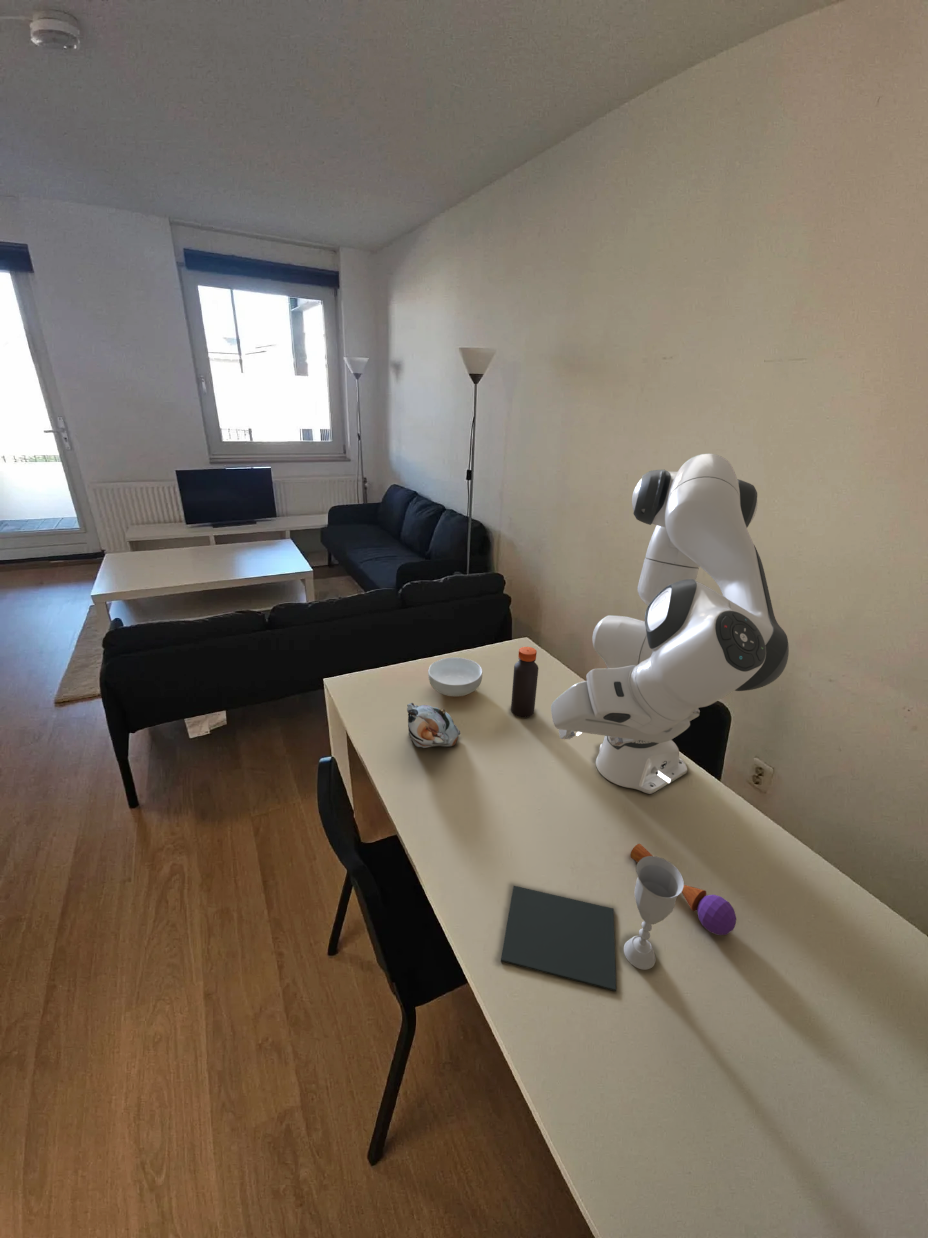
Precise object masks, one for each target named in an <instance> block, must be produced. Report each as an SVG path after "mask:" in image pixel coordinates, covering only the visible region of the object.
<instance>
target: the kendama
mask: <svg viewBox="0 0 928 1238" xmlns="http://www.w3.org/2000/svg"><path fill="white" fill-rule="evenodd" d="M629 856H630V858H631V859H632V860H633V861H635V862H636V863H638V862H639V861H640V860H641V859H642V858H644V857H647V856H654V855H653V854H652V853H651V852H650V851H649V850H648V849H647V848H645V847H644V845H643V844H641V843H637V844H635V845H634V846H633V848H632V849H631V851H630V855H629ZM681 895H682V896H683V898H684V899H685V901H686V903H687V905H688V906H689V908H690V911H692V912H697V915H698V916H697V917H698V920H699V922H700V924H701V925H702V927H704V928H705V930H707V931H708V932H709V933H712V934H714V935H717V936H725V935H728V934H730V933H731V932H732V931H733V930H734V929H735V927H736V923H737V915H736V911H735V908H734V907H733V905H732V904H731V903H730V902H729V901H728V900H726V899H725V897H722V896H720V895H716V894H707V891H706V889H702V888H697V887H695V886H691V885H687V884H684V887H683V890H682V892H681Z"/></svg>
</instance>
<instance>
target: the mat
mask: <svg viewBox="0 0 928 1238" xmlns="http://www.w3.org/2000/svg"><path fill="white" fill-rule="evenodd" d="M511 892H512V893H511V898H510V904H509V910H508V915H507V922H506V927H505V935H504V938H503V944H502V949H501V950H502V951H501V957H500V962H503V963H507V964H510V965H515V966H517V967H522V968H526V969H529V970H534V971H537V972H540V973H545V974H549V975H553V976H556V977H560V978H564V979H567V980H572V981H575V982H579V983H582V984H587V985H590V986H595V987H598V988H601V989H605V990H610V991H613V992H617V977H616V976H617V975H616V974H617V973H616V948H615V947H616V945H615V944H616V943H615V916H614V915H615V914H614V908H613V907H608V906H605V905H599V904H596V903H591V902H586V901H583V900H578V899H575V898H574V899H573V898H570V897H566V896H561V895H558V894H557V895H556V894H553V893H547V892H543V891H539V890H535V889H531V888H526V887H523V886H522V887H521V886H517V885H513V887H512V891H511Z"/></svg>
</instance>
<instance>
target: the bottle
mask: <svg viewBox="0 0 928 1238" xmlns="http://www.w3.org/2000/svg"><path fill="white" fill-rule="evenodd" d="M537 652H538V651H537V649H535V648H534V647H532V646H521V647H519V648H518V657H517V658H518V660H517V661H516V662H515V663H514V665H513V674H512V675H513V676H512V679H513V680H512V689H511V690H512V691H511V701H510V704H511V705H510V713H512V714H513V716H515V717H518V718H521V719H522V718H523V719H525V718H526V719H527V718H529V717H532V716H533V715H534V713H535V707H536V698H537V687H538V678H539V665H538V664H537V663H536V660H537Z"/></svg>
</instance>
